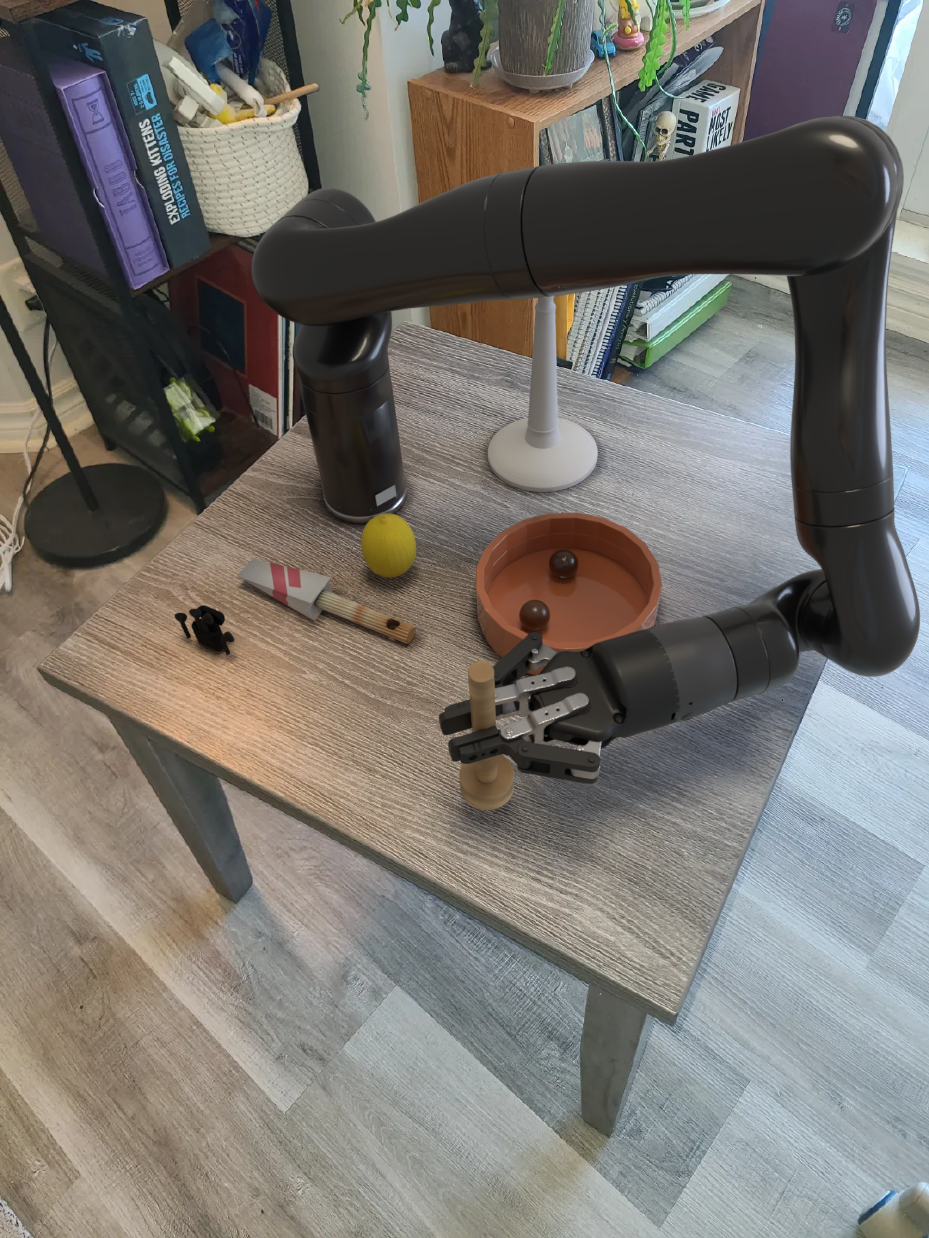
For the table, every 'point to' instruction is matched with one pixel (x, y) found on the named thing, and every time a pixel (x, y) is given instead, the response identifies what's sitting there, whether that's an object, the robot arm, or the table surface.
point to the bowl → (567, 583)
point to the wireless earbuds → (207, 628)
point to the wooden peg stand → (493, 776)
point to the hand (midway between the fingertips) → (446, 738)
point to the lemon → (388, 545)
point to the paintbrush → (318, 597)
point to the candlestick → (543, 426)
